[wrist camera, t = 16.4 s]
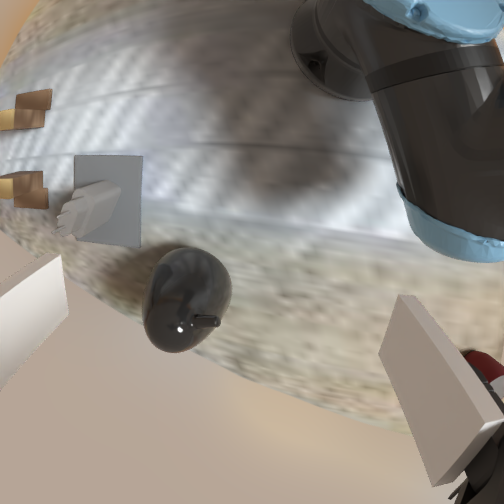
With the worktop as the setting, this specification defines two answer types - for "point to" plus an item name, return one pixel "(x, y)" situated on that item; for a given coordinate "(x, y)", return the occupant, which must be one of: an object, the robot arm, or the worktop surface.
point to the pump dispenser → (185, 299)
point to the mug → (488, 370)
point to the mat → (128, 205)
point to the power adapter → (88, 209)
